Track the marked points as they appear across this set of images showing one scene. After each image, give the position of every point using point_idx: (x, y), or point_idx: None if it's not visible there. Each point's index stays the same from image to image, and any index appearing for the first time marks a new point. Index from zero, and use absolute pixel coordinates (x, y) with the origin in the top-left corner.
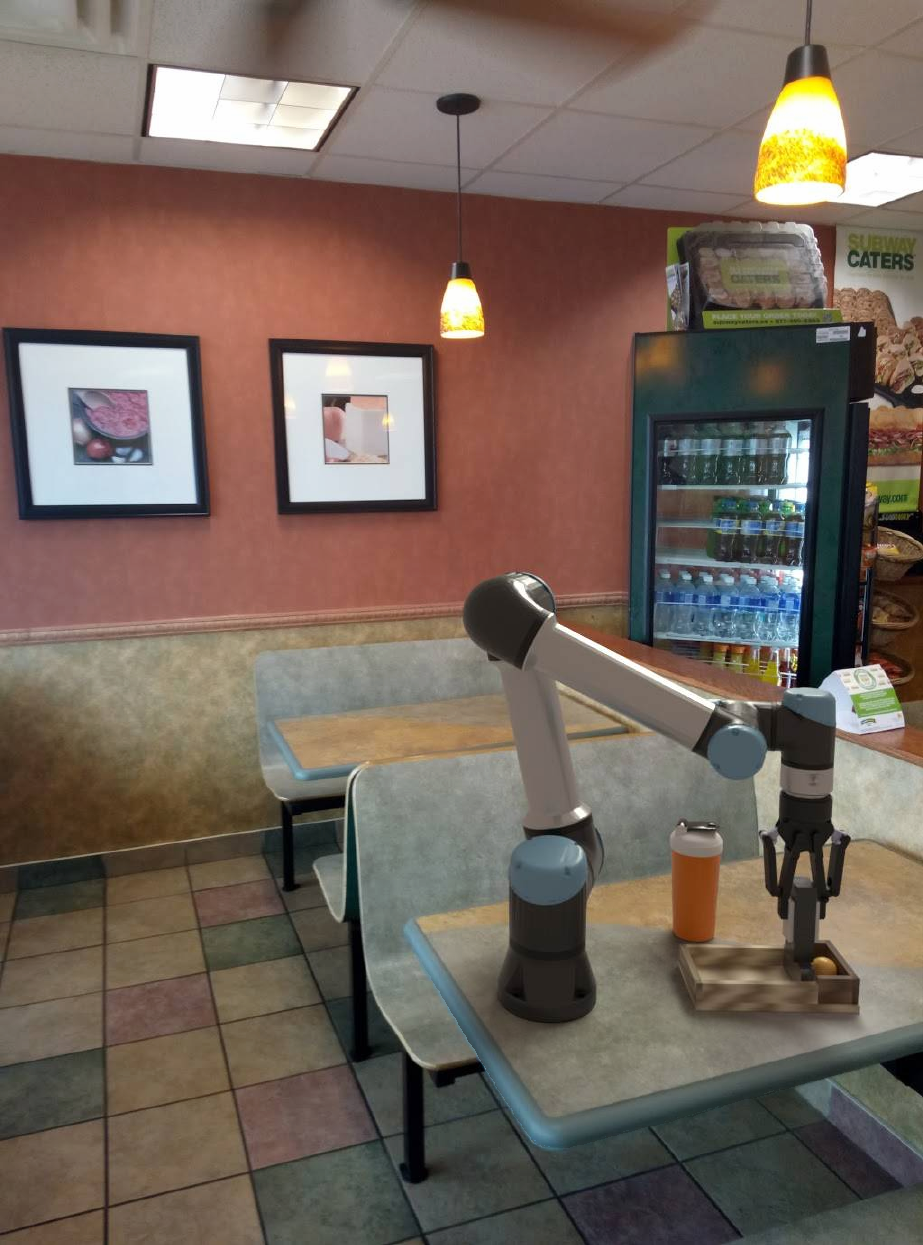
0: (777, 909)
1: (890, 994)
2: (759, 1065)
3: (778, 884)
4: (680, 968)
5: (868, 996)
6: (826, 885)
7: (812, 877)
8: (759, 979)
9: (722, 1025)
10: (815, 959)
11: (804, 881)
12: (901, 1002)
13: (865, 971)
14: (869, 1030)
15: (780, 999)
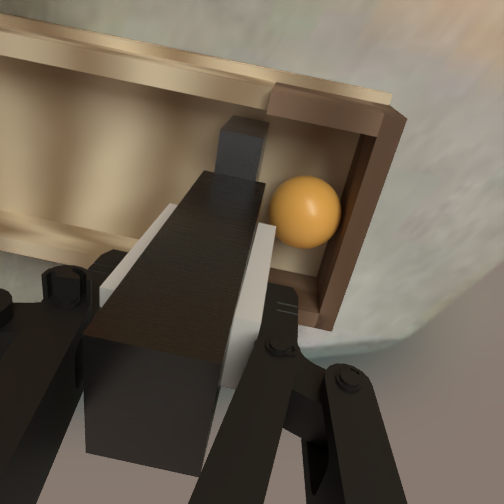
0: (95, 261)
1: (453, 244)
2: None
3: (27, 325)
4: None
5: (393, 241)
6: (323, 389)
7: (228, 409)
8: (147, 155)
9: (33, 272)
10: (284, 212)
11: (160, 412)
12: (449, 276)
13: (487, 132)
14: (304, 337)
15: None
